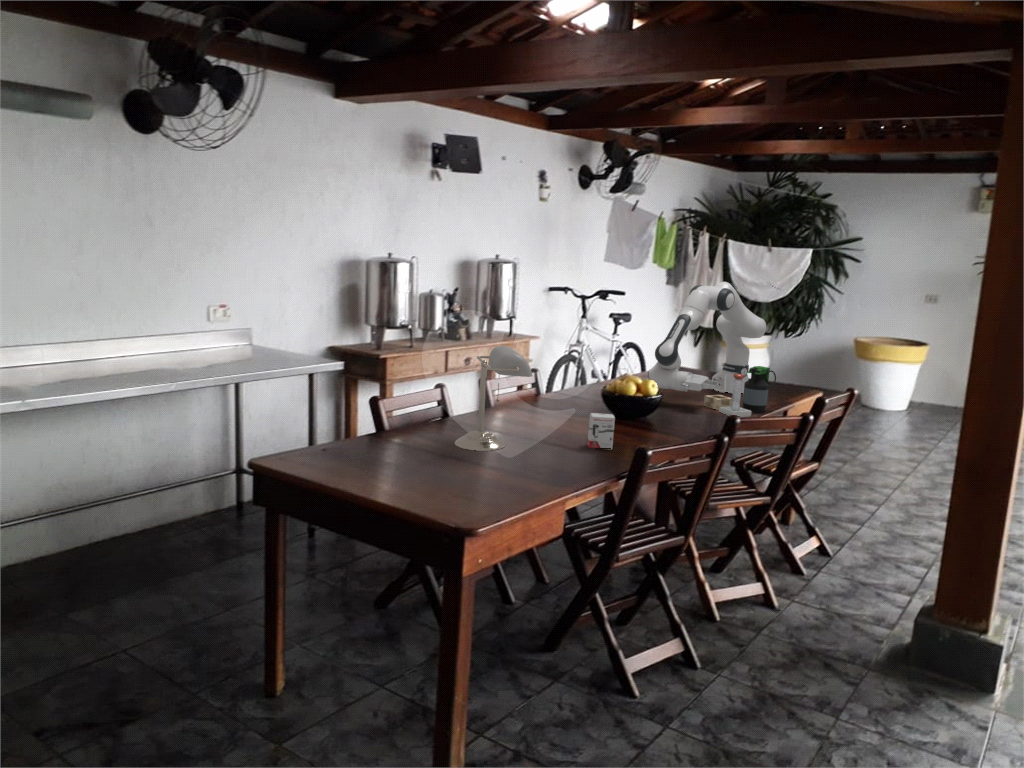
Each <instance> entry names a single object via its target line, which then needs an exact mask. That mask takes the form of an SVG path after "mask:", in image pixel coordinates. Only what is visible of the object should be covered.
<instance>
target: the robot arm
mask: <svg viewBox="0 0 1024 768" xmlns="http://www.w3.org/2000/svg"><path fill="white" fill-rule="evenodd" d="M708 310H711V311H719V312H720V315H719V316H718V317H717V320H716V329H717V331H718V332H719V333H720V334H721V336H722V337H723V339H724V342H725V347H726V352H725V362H724V363H722V364H721V366H722V367H721V368H722V369H721V370H720V371H718V372H717V373H715V374H714V375H713V376H712V377H711V379H710V378H709V377H708V376H705V375H702V374H695V373H693V372H691V371H683V370H681V369H680V368H681V365H682V359H681V357H680V354H679V344H680V343H681V341H682V340H683V338H684V335H685V334H686V333H687V331H694V330H696V329H698V328H699V327H700V325H701V324H702V323H703V320H704V319H705V316H706V314H707V311H708ZM766 330H767V323H766V321H765V319H763V318H762V317H759V316H758V315H756V314H754V312H752V311H751V310H750V309H748V308H747V307H746V305H745V304H744V303H743V301H742V299H741V297H740V295H739V293H738V292H737V290H736V289H735V288H734V287H733V285H732V284H731V283H729V282H727V281H721V282H718V283H717V284H716V285H712V286H711V285H702V284H700V285H694V286H693V287H692V288H691V289H690V291H689V294H688V296H687V298H686V299H685V301H684V302H683V305H682V306H681V309H680V311H679V313H678V316H677V317H676V320H675V322H674V323H673V325H672V327H671V328H670V330H669V332H668V333H667V335H666V337H665V338H664V339H663V341H661V343H660V344H658V345H657V347H656V348H655V350H654V357H655V359H656V361H657V362H656V363H655V364H654V366H652V368H649V370H648V372H647V373H648V375H647V376H648V381H649V380H654V381H655V382H656V383H657V385H658V387H657V388H658V389H665V390H669V389H670V390H674V391H679V392H686V393H687V392H688V391H694V392H695V391H696V392H701V391H702V390H706V389H707V390H708V389H709V390H713V389H714V391H715V392H718V391H719V392H718V393H725V392H728V393H727V394H733V386H734V377H733V375H734V374H743V375H744V378H743V382H742V391H741V393H743V392H744V384H745V382H746V381H748V380H749V375H748V374H749V373H748V371H749V369H750V365H749V360H750V353H751V352H750V348H749V347H748V346H747V345H746V343H744V341H743V340H742V338H744V339H745V338H747V339H760V338H762V337H763V336H764V335H765V333H766V332H767V331H766Z"/></svg>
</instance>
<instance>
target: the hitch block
mask: <svg viewBox="0 0 1024 768" xmlns="http://www.w3.org/2000/svg"><path fill="white" fill-rule="evenodd" d="M731 404H732V397H728V396H725V395H722V394H710V395H709V394H707V395H704V400H703V407H704V406H706V407H705V408H707V407H710V408H713V409H716V410H719V408H720V407H731ZM710 408H709V409H710ZM713 409H712V410H713ZM716 410H715V411H716Z"/></svg>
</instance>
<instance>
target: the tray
mask: <svg viewBox="0 0 1024 768" xmlns="http://www.w3.org/2000/svg"><path fill="white" fill-rule="evenodd" d="M719 412H721V413H723V414H722V415H724V414H726V415H725V416H728V417H730V415H737V416H740V417H739V418H748V417H749V418H750V417H752V412H751V411H750V410H747V409H744V408H743V407H741V406H740V409H739V411H736V412H734V411H731V407H720V408H719V411H718V413H719ZM721 413H720V414H721Z"/></svg>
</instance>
